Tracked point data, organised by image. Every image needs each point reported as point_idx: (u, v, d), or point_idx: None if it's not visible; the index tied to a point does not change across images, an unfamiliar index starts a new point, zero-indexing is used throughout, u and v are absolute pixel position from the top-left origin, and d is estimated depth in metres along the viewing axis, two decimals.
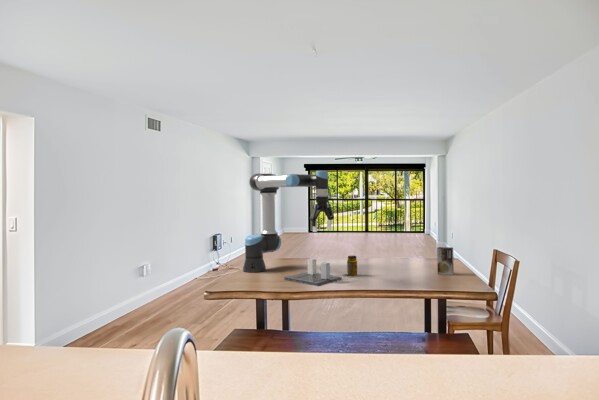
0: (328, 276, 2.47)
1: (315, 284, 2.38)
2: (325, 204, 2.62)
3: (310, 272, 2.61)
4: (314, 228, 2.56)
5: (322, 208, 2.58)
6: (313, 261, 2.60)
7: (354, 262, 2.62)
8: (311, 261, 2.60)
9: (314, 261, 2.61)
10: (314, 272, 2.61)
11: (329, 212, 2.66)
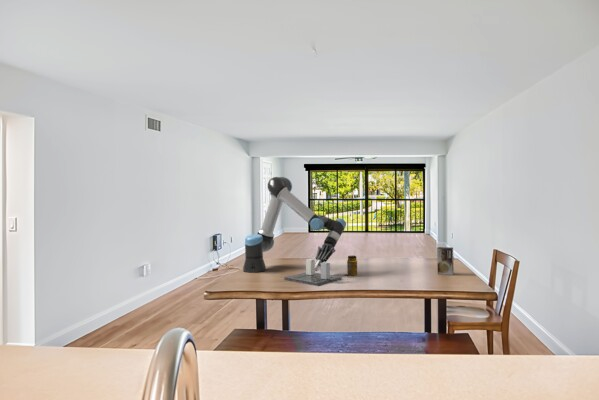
0: (328, 276, 2.47)
1: (315, 284, 2.38)
2: None
3: (308, 272, 2.60)
4: (317, 267, 2.63)
5: None
6: (311, 261, 2.59)
7: (354, 262, 2.62)
8: (309, 261, 2.59)
9: (312, 261, 2.60)
10: (312, 272, 2.60)
11: (319, 253, 2.71)
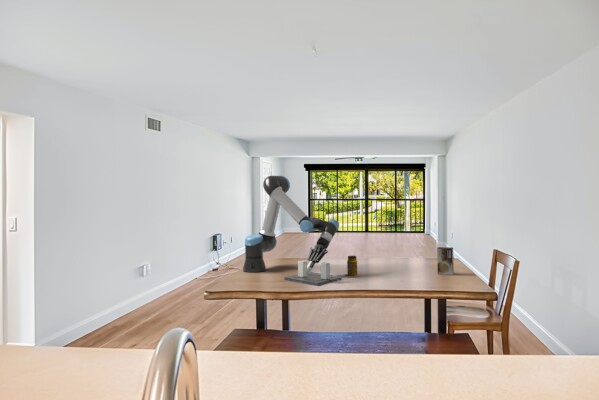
0: (328, 276, 2.47)
1: (315, 284, 2.38)
2: None
3: (300, 274, 2.55)
4: (309, 268, 2.58)
5: None
6: (303, 263, 2.54)
7: (354, 262, 2.62)
8: (301, 263, 2.54)
9: (304, 263, 2.55)
10: (304, 274, 2.55)
11: (311, 255, 2.66)
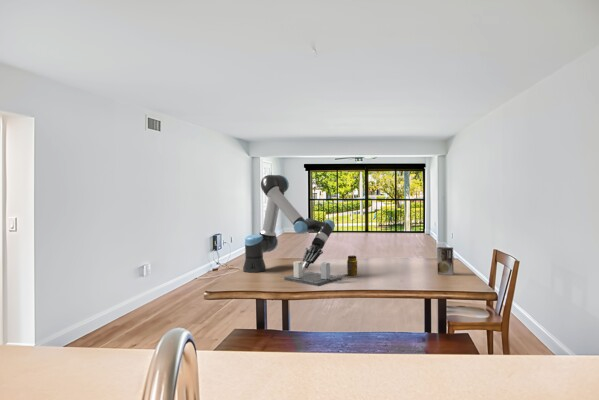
0: (328, 276, 2.47)
1: (315, 284, 2.38)
2: None
3: (296, 275, 2.52)
4: (304, 269, 2.56)
5: None
6: (299, 264, 2.51)
7: (354, 262, 2.62)
8: (297, 264, 2.51)
9: (300, 264, 2.52)
10: (300, 275, 2.52)
11: (306, 255, 2.64)
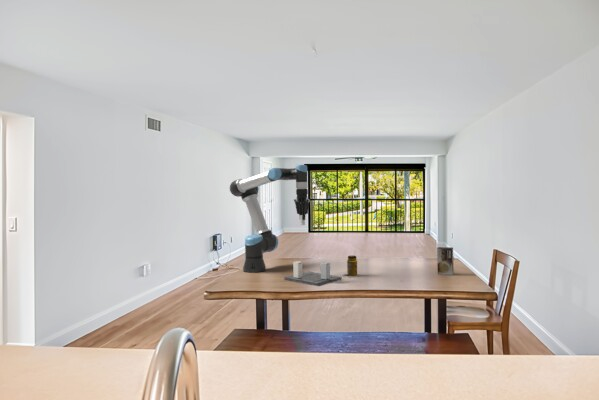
0: (328, 276, 2.47)
1: (315, 284, 2.38)
2: None
3: (296, 275, 2.52)
4: (303, 221, 2.79)
5: None
6: (299, 264, 2.51)
7: (354, 262, 2.62)
8: (297, 264, 2.51)
9: (300, 264, 2.52)
10: (300, 275, 2.52)
11: (298, 206, 2.81)
